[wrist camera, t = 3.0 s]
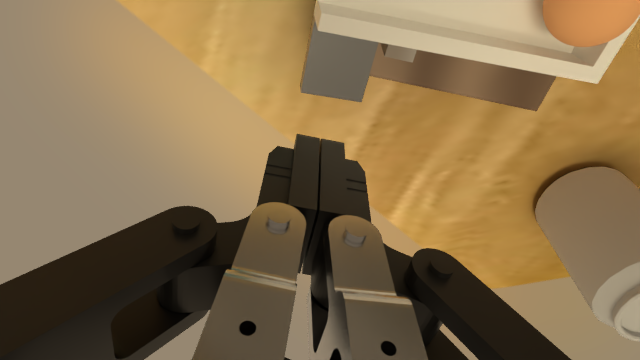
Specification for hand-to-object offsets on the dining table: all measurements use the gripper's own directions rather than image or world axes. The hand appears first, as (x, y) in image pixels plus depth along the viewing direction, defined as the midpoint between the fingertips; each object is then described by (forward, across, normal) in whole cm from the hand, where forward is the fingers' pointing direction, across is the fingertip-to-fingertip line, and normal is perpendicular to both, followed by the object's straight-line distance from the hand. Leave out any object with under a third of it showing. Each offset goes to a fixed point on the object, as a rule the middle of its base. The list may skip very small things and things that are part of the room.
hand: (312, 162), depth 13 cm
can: (+17, -24, +9) cm, 31 cm away
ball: (+9, -12, -6) cm, 16 cm away
